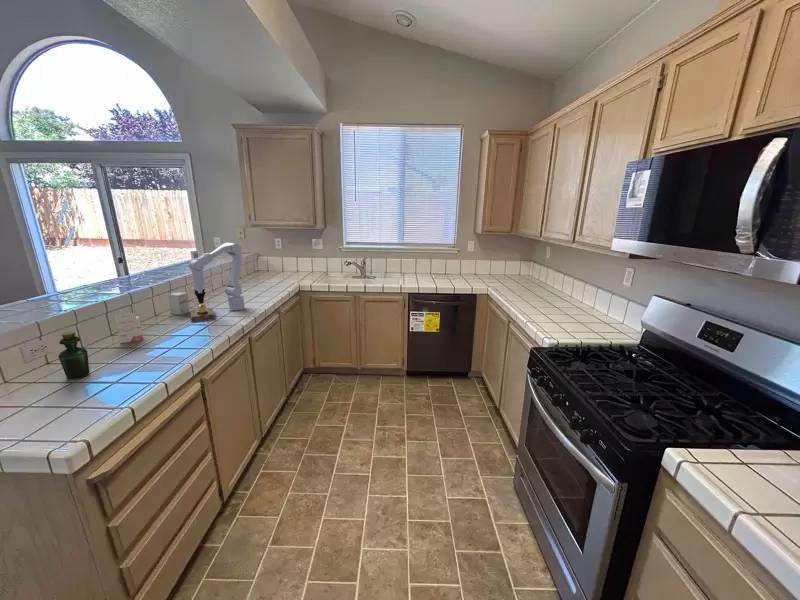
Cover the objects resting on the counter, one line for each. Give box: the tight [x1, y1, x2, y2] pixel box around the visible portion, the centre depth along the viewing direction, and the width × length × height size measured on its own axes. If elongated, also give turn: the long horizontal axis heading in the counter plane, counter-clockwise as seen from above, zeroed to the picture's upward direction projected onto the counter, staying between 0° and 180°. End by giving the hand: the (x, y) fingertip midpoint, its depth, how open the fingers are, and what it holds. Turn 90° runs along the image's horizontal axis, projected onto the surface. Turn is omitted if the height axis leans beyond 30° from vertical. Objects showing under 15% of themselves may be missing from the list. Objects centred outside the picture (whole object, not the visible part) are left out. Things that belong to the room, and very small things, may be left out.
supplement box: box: [167, 291, 190, 315], centre depth 209 cm, size 7×7×13 cm
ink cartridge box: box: [114, 312, 144, 344], centre depth 164 cm, size 9×5×15 cm, turn 118°
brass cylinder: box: [197, 303, 207, 315], centre depth 202 cm, size 4×4×8 cm
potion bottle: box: [57, 331, 90, 380], centre depth 129 cm, size 8×8×18 cm
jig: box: [190, 307, 216, 322], centre depth 204 cm, size 12×16×3 cm
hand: (201, 302), depth 201 cm, fingers open, 5 cm apart
